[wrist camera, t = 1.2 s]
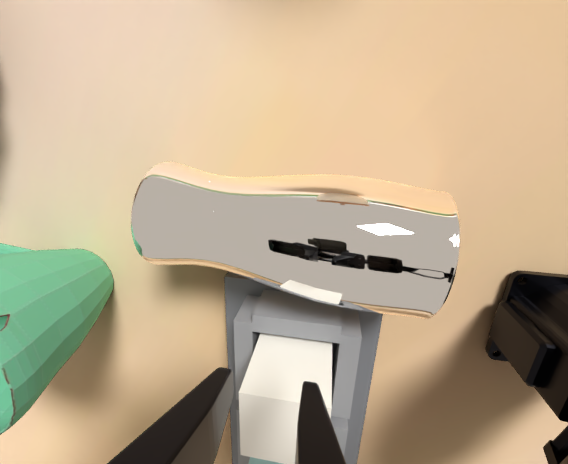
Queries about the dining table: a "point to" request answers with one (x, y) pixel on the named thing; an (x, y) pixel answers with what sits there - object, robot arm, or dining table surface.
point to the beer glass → (306, 235)
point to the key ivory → (280, 393)
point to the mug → (44, 318)
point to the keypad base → (308, 325)
